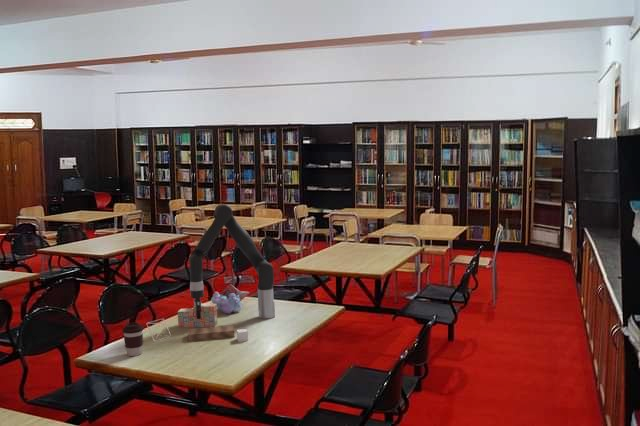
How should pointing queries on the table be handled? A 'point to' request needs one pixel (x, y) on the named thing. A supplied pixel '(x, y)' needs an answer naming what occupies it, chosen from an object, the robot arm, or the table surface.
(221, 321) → the table surface
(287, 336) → the table surface
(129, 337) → the coffee cup
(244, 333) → the pale grey cube
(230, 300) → the lumpy periwinkle toy figure
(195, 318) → the stack of blocks
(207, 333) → the walnut plinth
